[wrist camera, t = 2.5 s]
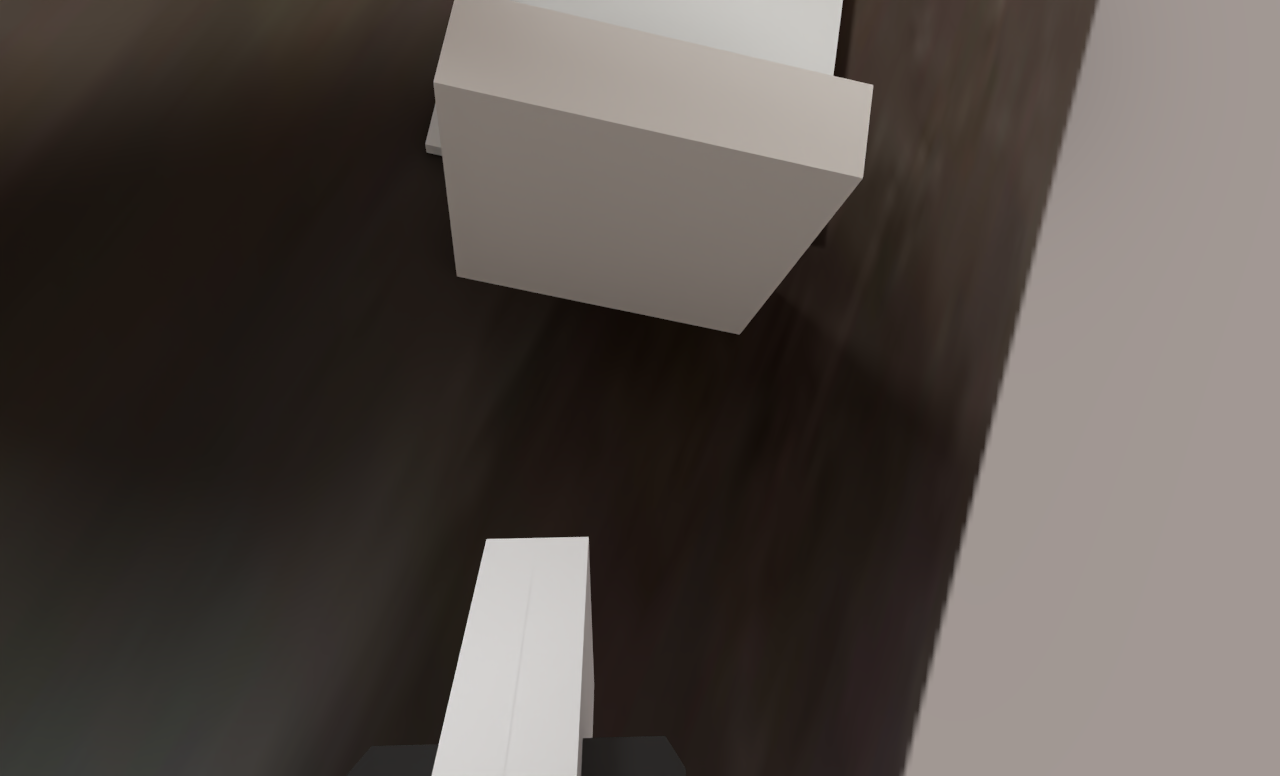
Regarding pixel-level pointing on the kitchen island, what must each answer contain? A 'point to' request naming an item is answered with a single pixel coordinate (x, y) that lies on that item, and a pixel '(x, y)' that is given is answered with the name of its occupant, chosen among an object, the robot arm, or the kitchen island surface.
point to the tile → (636, 162)
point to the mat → (717, 29)
